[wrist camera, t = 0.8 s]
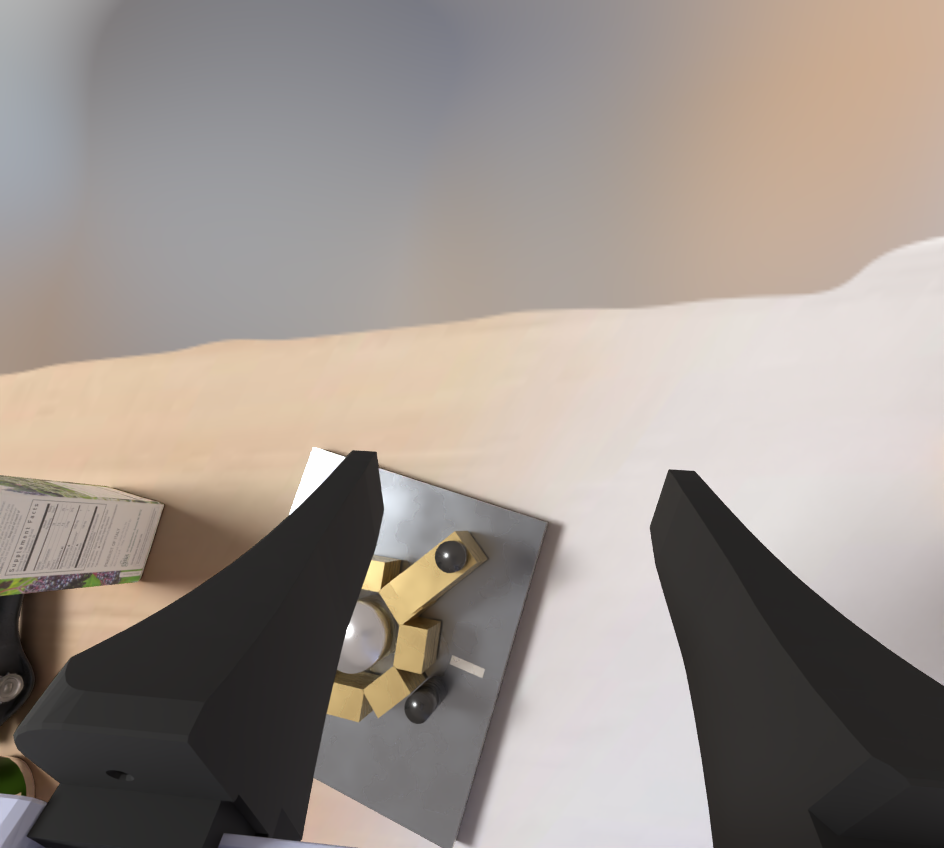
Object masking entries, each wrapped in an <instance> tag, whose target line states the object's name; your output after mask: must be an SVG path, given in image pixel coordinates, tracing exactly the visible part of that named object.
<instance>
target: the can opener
mask: <svg viewBox="0 0 944 848" xmlns="http://www.w3.org/2000/svg"><path fill="white" fill-rule="evenodd" d="M24 594H25V593H24ZM24 594H14V595H5V596H0V726H1V725H2V724H3V723H4V722H5V721H6V720H7V719H9V718H10V717H11V716H12V715H13V714H14V713H15V712H16V711H17V710H18V709H19V708H20V707H21V706H22V705H23V704H24V703H25V701H26V700H27V699H28V697H29V696H30V694H31V692H32V690H33V687H34V683H35V676H34V672H33V669H32V666H31V664H30V662H29V661H28V659H27V657H26V655H25V653H24V651H23V649H22V645H21V641H20V636H19V627H18V626H19V624H18V623H19V616H20V611H21V606H22V602H23V598H24Z"/></svg>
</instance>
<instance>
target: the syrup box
mask: <svg viewBox="0 0 944 848" xmlns="http://www.w3.org/2000/svg"><path fill="white" fill-rule="evenodd" d="M163 507H164V504H163V503H160V502H157V501H154V500H150V499H147V498H144V497H140V496H137V495H133V494H130V493H127V492H123V491H120V490H117V489H114V488H110V487H107V486H99V485H90V484H80V483H71V482H60V481H50V480H39V479H31V478H20V477H11V476H2V475H0V596H5V595H14V594H24V593H35V592H44V591H55V590H63V589H73V588H83V587H93V586H102V585H113V584H122V583H134V582H138V581H139V580H140V579H141V576H142V573H143V570H144V567H145V564H146V561H147V558H148V555H149V552H150V549H151V546H152V542H153V539H154V536H155V533H156V530H157V526H158V523H159V520H160V516H161V513H162V510H163Z"/></svg>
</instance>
